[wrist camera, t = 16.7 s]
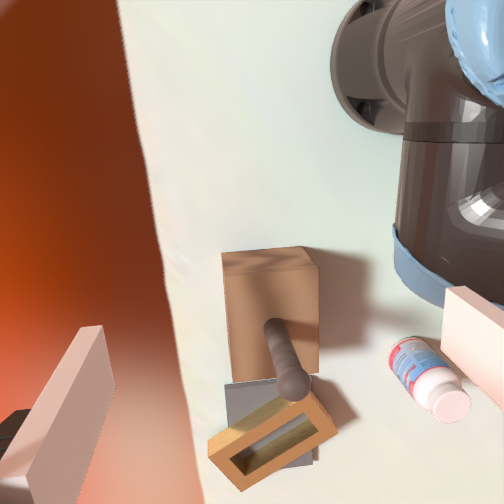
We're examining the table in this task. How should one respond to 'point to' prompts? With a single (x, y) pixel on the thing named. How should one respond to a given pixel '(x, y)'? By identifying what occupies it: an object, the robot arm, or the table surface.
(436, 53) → the robot arm
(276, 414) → the golden brown rectangular frame
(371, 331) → the table surface
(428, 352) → the pill bottle
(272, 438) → the rubber mat
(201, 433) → the table surface
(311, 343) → the walnut stand
